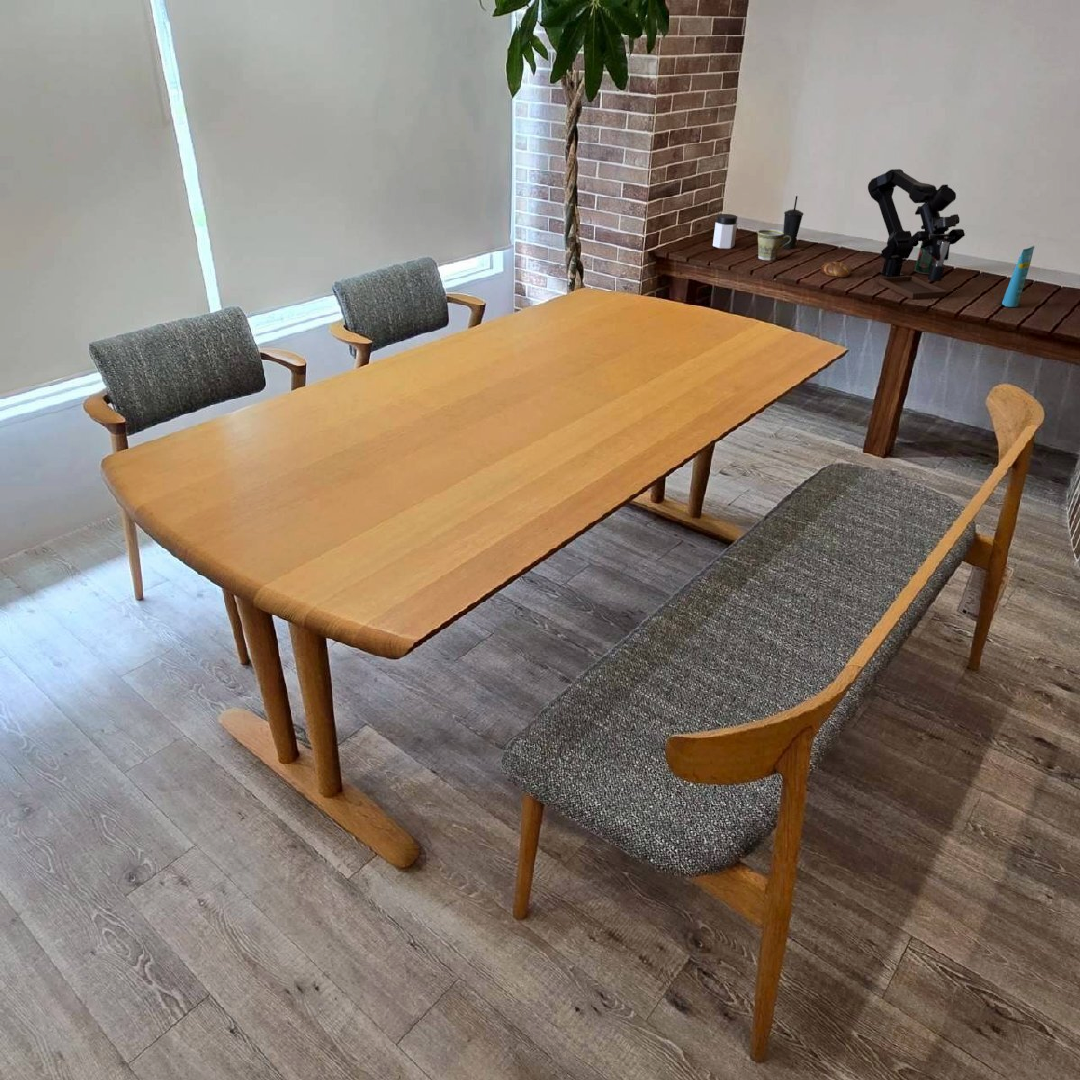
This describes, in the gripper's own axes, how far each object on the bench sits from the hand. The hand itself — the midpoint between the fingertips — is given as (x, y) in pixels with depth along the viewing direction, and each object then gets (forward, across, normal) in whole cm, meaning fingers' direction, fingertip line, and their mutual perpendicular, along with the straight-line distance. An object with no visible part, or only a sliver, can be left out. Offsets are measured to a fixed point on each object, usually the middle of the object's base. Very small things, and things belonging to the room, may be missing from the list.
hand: (942, 260), depth 287 cm
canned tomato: (-10, +16, +27) cm, 33 cm away
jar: (-46, -43, +64) cm, 90 cm away
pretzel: (-13, -20, +30) cm, 38 cm away
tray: (+4, -5, +13) cm, 14 cm away
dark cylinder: (+4, 0, +6) cm, 7 cm away
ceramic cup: (-30, -34, +48) cm, 66 cm away
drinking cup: (-40, -17, +59) cm, 73 cm away
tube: (+20, +18, -4) cm, 27 cm away
